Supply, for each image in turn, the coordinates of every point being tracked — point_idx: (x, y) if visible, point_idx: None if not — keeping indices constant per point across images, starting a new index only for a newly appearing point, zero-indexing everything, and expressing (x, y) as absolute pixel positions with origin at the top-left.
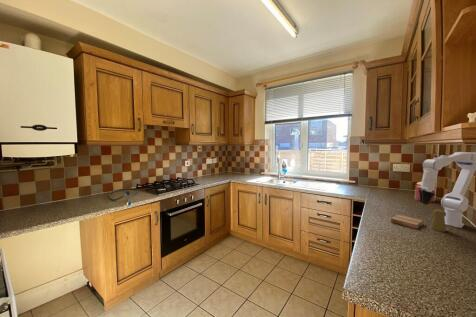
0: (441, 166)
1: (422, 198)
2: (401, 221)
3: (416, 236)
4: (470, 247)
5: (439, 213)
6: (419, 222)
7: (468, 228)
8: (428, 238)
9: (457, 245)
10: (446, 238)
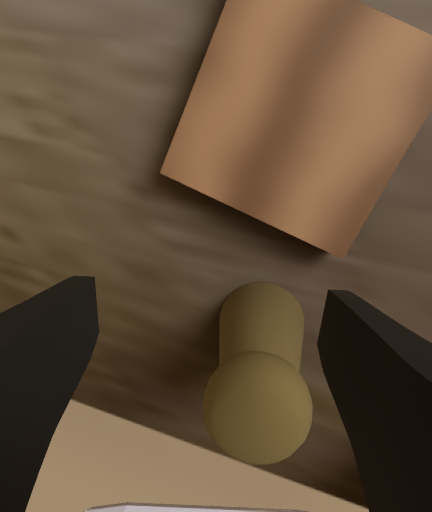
0: None
1: (38, 310)
2: (206, 56)
3: (5, 140)
4: None
5: (203, 398)
6: (248, 212)
7: None
8: (18, 208)
9: None
10: None
